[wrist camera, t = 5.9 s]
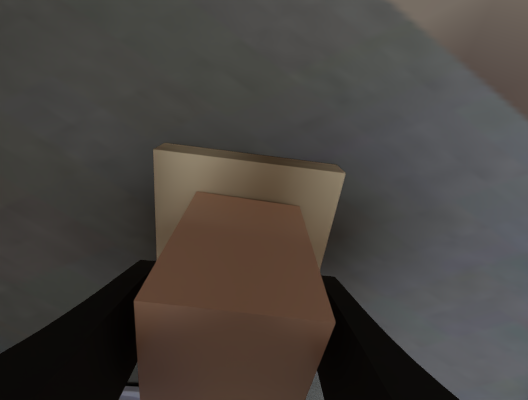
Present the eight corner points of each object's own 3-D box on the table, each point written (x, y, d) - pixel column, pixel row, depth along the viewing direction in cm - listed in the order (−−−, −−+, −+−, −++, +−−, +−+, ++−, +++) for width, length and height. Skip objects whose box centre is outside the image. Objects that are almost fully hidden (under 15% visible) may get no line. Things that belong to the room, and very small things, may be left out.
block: (191, 273, 13) (140, 416, 7) (196, 191, 11) (133, 300, 6) (280, 284, 13) (294, 427, 8) (299, 206, 11) (335, 322, 6)
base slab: (170, 275, 15) (158, 300, 13) (168, 140, 12) (153, 149, 10) (302, 287, 16) (308, 313, 14) (332, 161, 13) (345, 173, 11)
